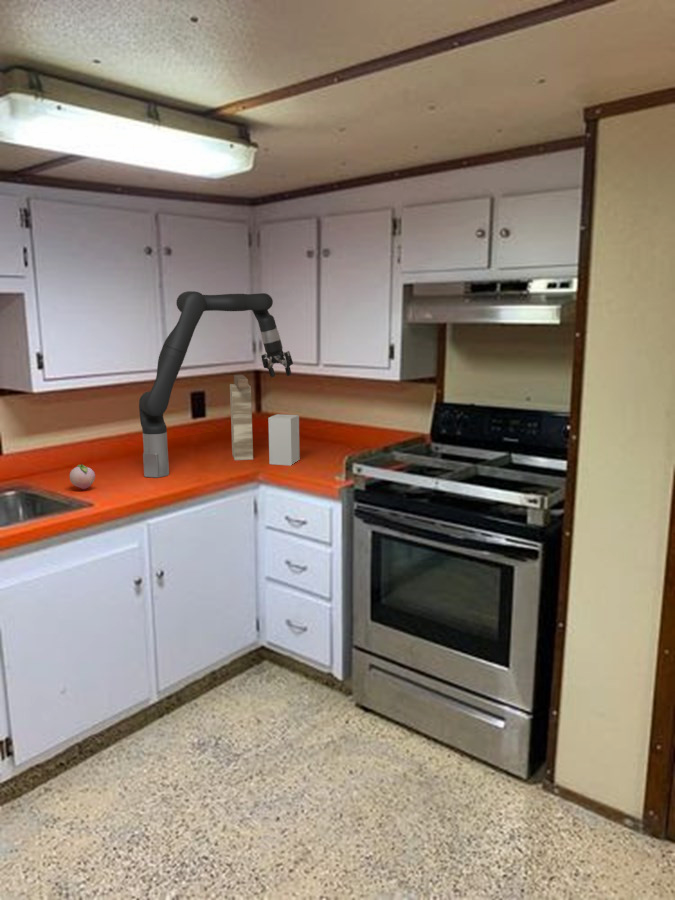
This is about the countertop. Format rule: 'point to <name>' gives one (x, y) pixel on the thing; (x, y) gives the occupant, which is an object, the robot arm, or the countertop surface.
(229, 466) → the countertop surface
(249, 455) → the tall stand
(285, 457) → the short block
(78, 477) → the decorative fruit
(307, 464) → the countertop surface
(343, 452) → the countertop surface
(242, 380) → the long wooden bar
